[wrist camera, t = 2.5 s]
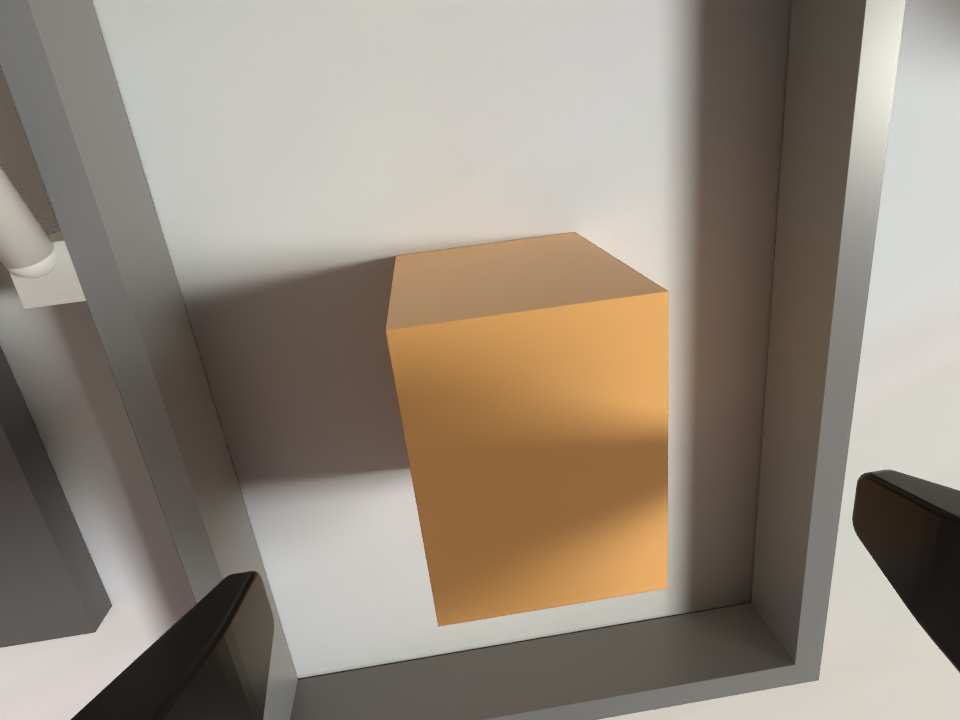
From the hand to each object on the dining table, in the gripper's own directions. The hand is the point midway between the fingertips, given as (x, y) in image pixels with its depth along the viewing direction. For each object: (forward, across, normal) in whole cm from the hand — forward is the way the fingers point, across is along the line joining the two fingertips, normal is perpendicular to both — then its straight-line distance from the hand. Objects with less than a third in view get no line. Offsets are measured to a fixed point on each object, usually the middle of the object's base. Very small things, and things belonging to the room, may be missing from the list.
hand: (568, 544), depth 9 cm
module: (+8, 0, 0) cm, 8 cm away
